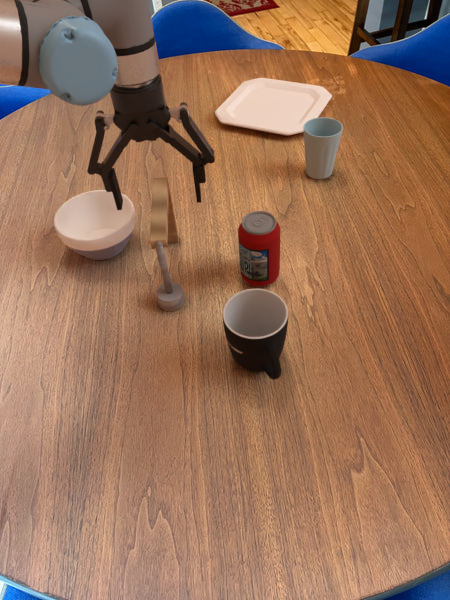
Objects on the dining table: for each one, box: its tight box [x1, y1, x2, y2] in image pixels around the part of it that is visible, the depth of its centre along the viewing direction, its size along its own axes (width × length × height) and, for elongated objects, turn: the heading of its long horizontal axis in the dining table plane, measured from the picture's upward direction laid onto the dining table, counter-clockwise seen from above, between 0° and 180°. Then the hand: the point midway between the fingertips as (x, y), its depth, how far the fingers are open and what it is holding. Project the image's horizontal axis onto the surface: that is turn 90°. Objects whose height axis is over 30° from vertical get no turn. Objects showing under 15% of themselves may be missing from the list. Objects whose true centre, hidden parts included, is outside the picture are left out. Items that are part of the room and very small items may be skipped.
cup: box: [303, 116, 344, 180], centre depth 98 cm, size 8×8×10 cm
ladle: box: [149, 176, 186, 312], centre depth 80 cm, size 18×4×14 cm, turn 4°
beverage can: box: [237, 210, 281, 287], centre depth 79 cm, size 7×7×12 cm
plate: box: [214, 77, 333, 136], centre depth 120 cm, size 25×25×2 cm
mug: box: [222, 288, 289, 380], centre depth 68 cm, size 12×9×10 cm
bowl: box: [53, 189, 137, 261], centre depth 88 cm, size 14×14×8 cm
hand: (159, 201), depth 82 cm, fingers open, 13 cm apart
